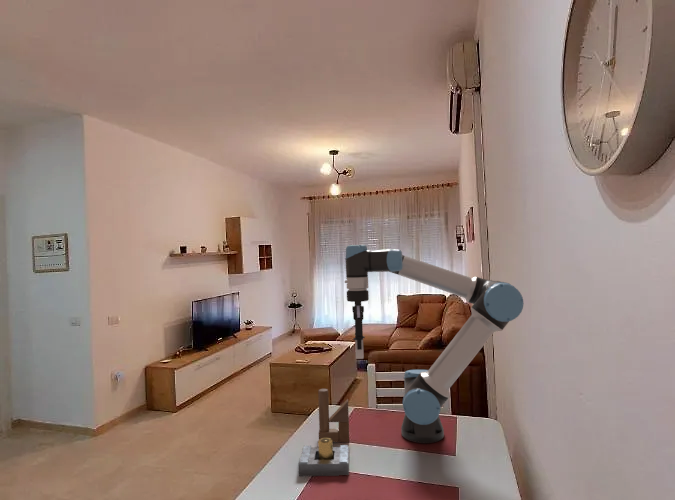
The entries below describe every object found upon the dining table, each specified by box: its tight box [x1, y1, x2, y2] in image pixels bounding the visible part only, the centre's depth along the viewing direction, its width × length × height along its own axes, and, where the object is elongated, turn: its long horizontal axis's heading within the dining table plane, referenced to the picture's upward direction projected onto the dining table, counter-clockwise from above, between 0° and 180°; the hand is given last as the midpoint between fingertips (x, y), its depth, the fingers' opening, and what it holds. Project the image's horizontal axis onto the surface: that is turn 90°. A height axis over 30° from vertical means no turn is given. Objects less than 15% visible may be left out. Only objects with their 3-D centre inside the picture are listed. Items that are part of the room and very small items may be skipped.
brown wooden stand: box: [317, 388, 350, 443], centre depth 145 cm, size 4×11×18 cm, turn 87°
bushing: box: [317, 438, 334, 460], centre depth 127 cm, size 4×4×8 cm
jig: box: [298, 444, 350, 477], centre depth 127 cm, size 15×11×4 cm
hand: (359, 358), depth 140 cm, fingers closed
